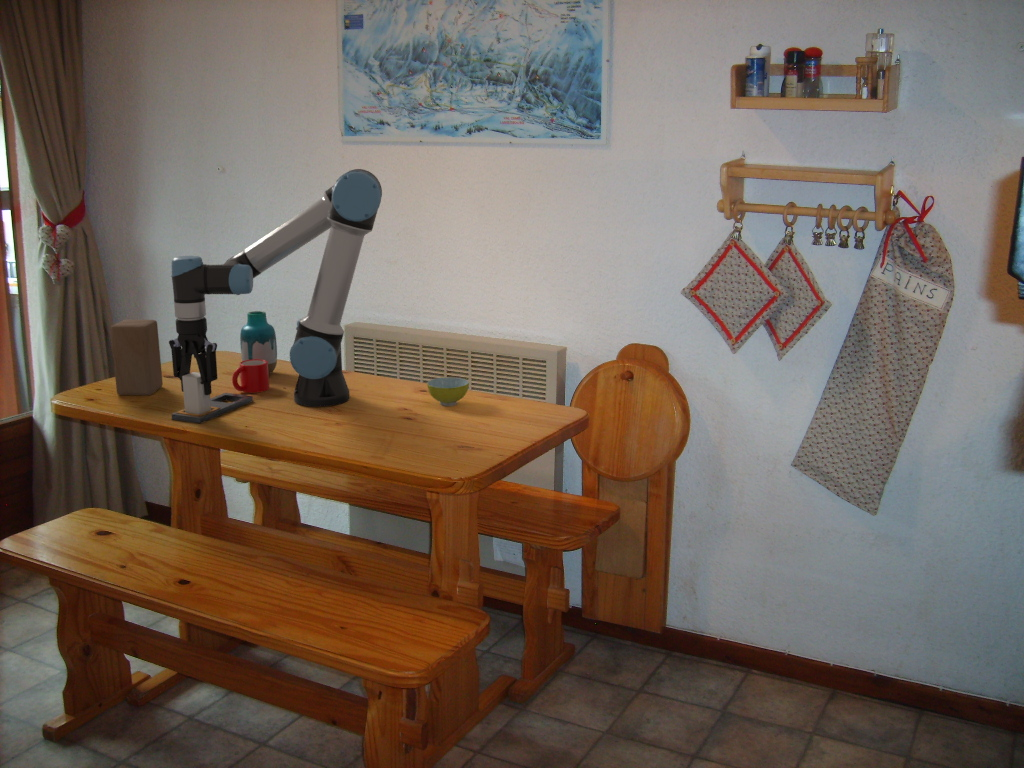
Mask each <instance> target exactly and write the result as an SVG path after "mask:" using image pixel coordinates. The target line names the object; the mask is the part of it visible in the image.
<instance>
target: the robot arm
mask: <svg viewBox="0 0 1024 768" xmlns="http://www.w3.org/2000/svg"><path fill="white" fill-rule="evenodd" d="M382 196H383V190H382V185H381V183H380V181H379V179H378V177H377V176H376V175H375V174H373V172H370V171H369V170H366V169H361V168H360V169H359V168H355V169H351V170H348V171H347V172H345V173H343V174H342V175H341V176H339V177H338V179H336V181H335V183H334V185H332V186H331V187H329V188H328V189H326V190H325V191H324V193H323V197H322V198H320V199H318V200H317V201H315V202H314V203H313V204H311V205H309V206H307V208H305V209H303V210H302V211H300V212H299V213H298V214H296V215H294V216H293V217H291V218H290V219H288V220H287V221H285V222H283V223H282V224H280V225H279V226H278V227H275V229H273V230H272V231H270V232H269V233H267V234H266V235H263V237H261V238H260V239H257V241H255V242H254V243H252V244H250V245H248V246H247V247H246V248H245V249H243V250H241V251H240V252H239V253H237V254H235V255H234V256H231V257H230V258H228V259H227V260H226V261H225V262H224V263H223V264H204V262H203V258H202V257H201V256H199V255H182V256H180V255H179V256H176V257H174V258H173V259H172V260H171V276H170V277H171V282H172V289H173V290H172V291H173V305H174V306H173V307H174V317H175V318H176V319H175V329H176V333H177V338H174V339H170V340H169V341H168V344H169V347H170V351H171V361H172V373H173V378H178V379H179V380H180V385H181V386H180V388H181V392H182V393H184V392H183V380H182V376H184V375H187V374H190V373H191V369H192V368H191V365H192V359H193V358H192V357H194V359H196V364H197V367H198V371H199V372H198V373H200V376H201V379H202V382H200V395H201V408H205V407H208V406H210V405H211V404H210V399H211V394H212V383H213V381H217V380H218V365H217V349H218V348H217V347H218V343H216V342H213V343H212V342H210V341H209V339H208V337H207V332H208V322H207V318H206V315H207V312H206V296H205V295H235V296H239V295H248V294H250V293H252V291H253V288H254V279H255V278H257V277H258V276H259V275H261V274H262V273H263V272H265V271H266V270H268V269H270V268H271V267H273V266H274V265H276V264H277V263H279V262H280V261H283V260H284V259H285V258H287V257H288V256H289V255H291V254H293V253H295V252H296V251H298V250H299V249H300V248H302V247H304V246H305V245H307V244H308V243H309V242H311V241H312V240H314V239H316V238H317V237H319V236H320V235H322V234H324V233H325V232H327V231H328V230H329V233H328V236H327V240H326V244H325V248H324V252H323V254H322V259H321V263H320V267H319V269H318V270H319V271H318V274H317V278H316V282H315V285H314V288H313V293H312V296H311V301H310V304H309V308H308V312H307V315H305V316H304V317H302V318H299V319H298V320H297V321H296V327H295V329H296V334H295V336H294V341H293V344H292V346H291V347H290V350H289V361H290V365H291V367H292V368H293V370H294V371H295V372H296V373H297V374H298V378H297V382H296V385H295V388H294V392H293V401H294V403H295V404H297V405H300V406H305V407H317V408H319V407H332V406H337V405H341V404H343V403H346V402H348V401H349V400H350V399H351V398H350V397H351V396H350V389H349V387H348V384H347V380H346V378H345V375H344V373H343V362H342V341H343V337H344V333H345V331H344V329H343V326H342V325H341V323H342V318H343V316H344V311H345V307H346V304H347V300H348V297H349V294H350V289H351V285H352V283H353V282H352V281H353V280H354V279H353V278H354V275H355V271H356V267H357V265H358V261H359V256H360V254H361V253H360V252H361V250H362V246H363V243H364V239H365V236H366V235H368V234H369V233H371V232H372V231H373V228H374V225H375V221H376V219H377V218H376V217H377V214H378V211H379V208H380V205H381V203H382Z"/></svg>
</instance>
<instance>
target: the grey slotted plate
mask: <svg viewBox="0 0 1024 768" xmlns="http://www.w3.org/2000/svg"><path fill="white" fill-rule="evenodd" d="M253 399H254V398H253V396H252V395H247V394H239V393H232V392H231V393H230V392H224V393H221V394H219V395H216V396H214V397H210V402H211V410H210V411H208V412H205V413H203V414H201V415H199V414H192V413H185V408H184V409H180V410H178V411H176V412H173V413H171V420H174V421H180V422H186V423H194V424H204V423H205V422H208V421H210V420H213V419H214V418H217V417H219V416H222V415H225V414H226V413H229V412H231V411H234V410H236V409H238V408H240V407H243V406H245V405H247V404H250V403H252V402H253V401H254V400H253ZM224 401H229V402H224Z"/></svg>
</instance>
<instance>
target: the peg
mask: <svg viewBox="0 0 1024 768" xmlns="http://www.w3.org/2000/svg"><path fill="white" fill-rule="evenodd" d="M182 380H183V392H182V393H183V403H184V409H185V413H192V414H199V415H201V414H203V413H205V412H208V411H210V410H211V405H210V406H208V407H205V408H201V395H200V382H202V379H201V376H200V372H197V371H193V372H190V374H187V375H184V376H182ZM210 404H211V402H210Z"/></svg>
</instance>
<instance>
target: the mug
mask: <svg viewBox="0 0 1024 768" xmlns="http://www.w3.org/2000/svg"><path fill="white" fill-rule="evenodd" d="M269 374H270V373H268V362H267V361H266V360H261V359H252V360H245V361H242V360H241V362H239V367H237V368H236V369H235V370H234V372H233V374H232V378H231V381H232V385H233V387H234V389H235V390H237V391H238V392H242V393H243V392H244V393H263V392H266V391H268V390H269V389H270V376H269ZM239 375H240V376H239ZM239 377H240V378H239ZM238 378H239V379H240V384H239V382H238ZM262 391H263V392H262Z"/></svg>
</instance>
